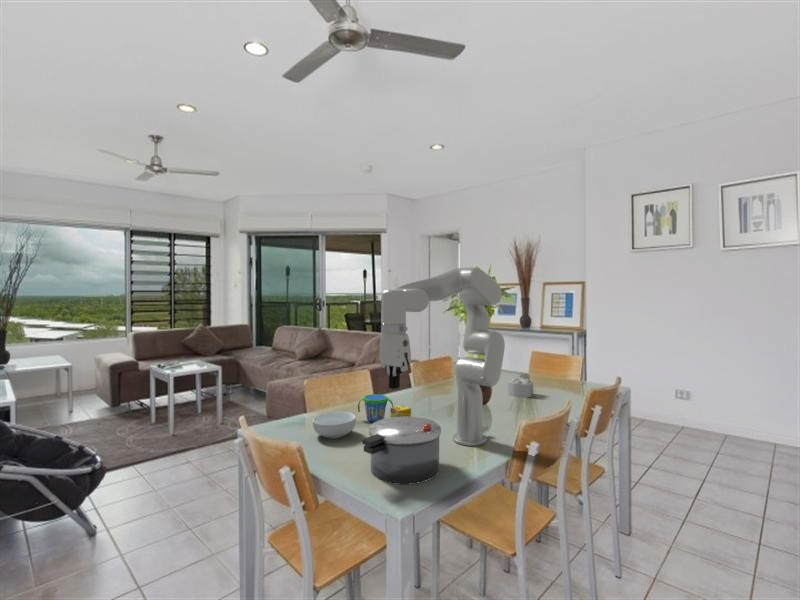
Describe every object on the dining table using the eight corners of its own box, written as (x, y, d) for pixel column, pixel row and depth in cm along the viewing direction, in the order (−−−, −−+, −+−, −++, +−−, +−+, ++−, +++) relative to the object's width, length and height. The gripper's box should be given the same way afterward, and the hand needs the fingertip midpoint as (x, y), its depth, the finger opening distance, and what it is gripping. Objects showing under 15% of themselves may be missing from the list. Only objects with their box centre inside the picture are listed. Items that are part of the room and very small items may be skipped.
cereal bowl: (336, 425, 177) (336, 408, 177) (364, 433, 167) (364, 416, 166) (303, 436, 164) (303, 418, 164) (332, 446, 154) (332, 427, 153)
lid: (404, 415, 151) (404, 407, 151) (456, 430, 135) (456, 421, 135) (341, 435, 131) (341, 427, 130) (394, 456, 115) (394, 446, 115)
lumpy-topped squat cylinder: (529, 398, 219) (529, 382, 219) (505, 395, 225) (505, 379, 225) (534, 394, 228) (534, 378, 228) (510, 391, 234) (510, 375, 234)
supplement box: (390, 434, 166) (389, 407, 165) (401, 431, 169) (401, 404, 169) (399, 438, 161) (399, 410, 161) (411, 435, 165) (411, 407, 165)
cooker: (407, 448, 152) (407, 415, 151) (456, 465, 137) (456, 429, 136) (344, 473, 131) (344, 435, 131) (394, 498, 116) (394, 455, 115)
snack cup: (395, 417, 188) (395, 394, 188) (390, 424, 178) (390, 400, 177) (361, 415, 191) (361, 393, 190) (355, 422, 180) (355, 399, 180)
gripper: (420, 330, 127) (420, 389, 128) (385, 326, 138) (386, 382, 138) (403, 332, 122) (403, 394, 123) (368, 328, 132) (369, 386, 133)
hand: (394, 387), depth 131 cm, fingers closed
